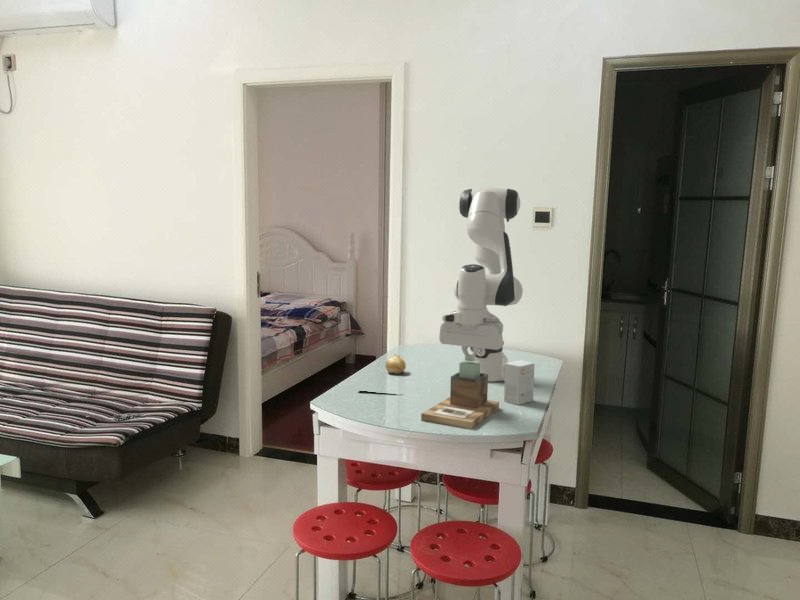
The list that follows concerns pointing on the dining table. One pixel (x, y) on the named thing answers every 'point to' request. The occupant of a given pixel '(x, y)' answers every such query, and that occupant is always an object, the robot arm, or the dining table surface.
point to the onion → (395, 364)
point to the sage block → (469, 369)
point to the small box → (519, 382)
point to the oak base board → (460, 421)
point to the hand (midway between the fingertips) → (470, 360)
